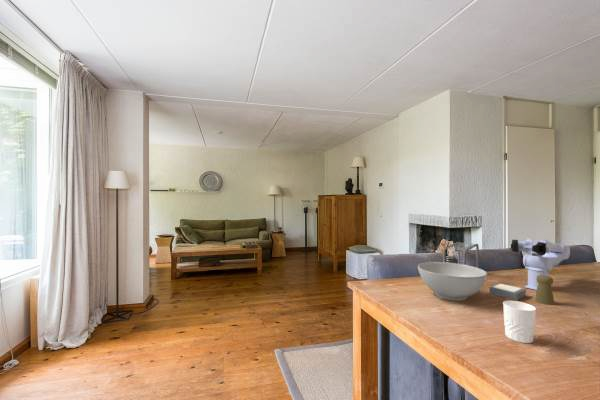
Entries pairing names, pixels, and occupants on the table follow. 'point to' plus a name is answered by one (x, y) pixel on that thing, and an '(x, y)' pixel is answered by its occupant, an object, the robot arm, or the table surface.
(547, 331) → the table surface
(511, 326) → the white cup
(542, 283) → the cork
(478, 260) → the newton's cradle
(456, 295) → the decorative bowl
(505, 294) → the plinth
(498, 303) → the table surface
